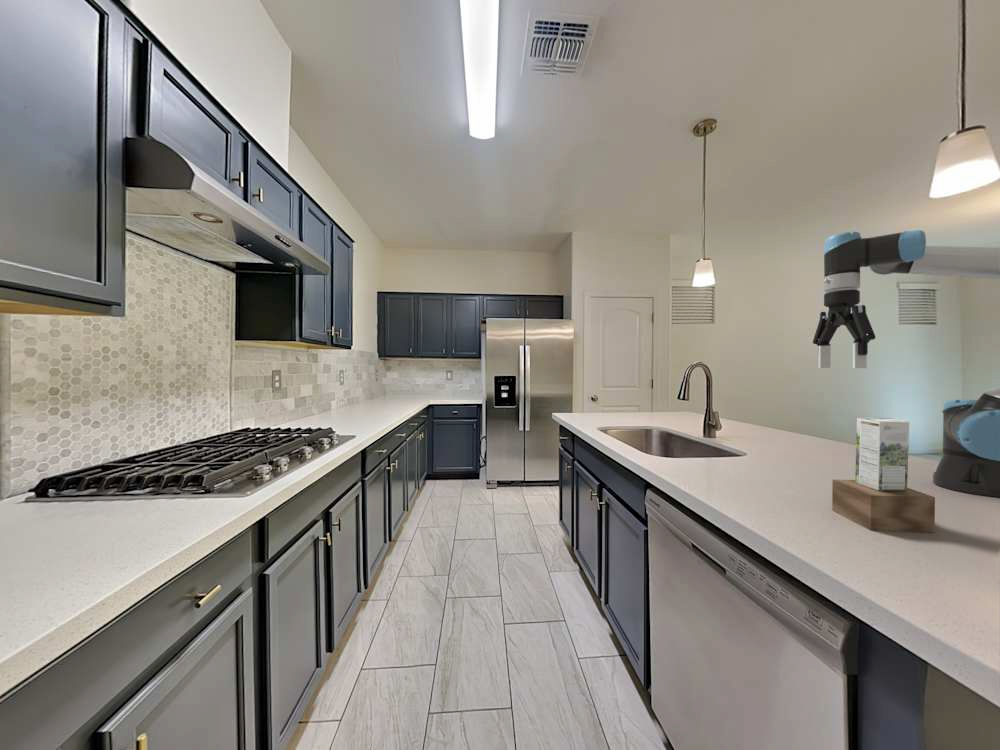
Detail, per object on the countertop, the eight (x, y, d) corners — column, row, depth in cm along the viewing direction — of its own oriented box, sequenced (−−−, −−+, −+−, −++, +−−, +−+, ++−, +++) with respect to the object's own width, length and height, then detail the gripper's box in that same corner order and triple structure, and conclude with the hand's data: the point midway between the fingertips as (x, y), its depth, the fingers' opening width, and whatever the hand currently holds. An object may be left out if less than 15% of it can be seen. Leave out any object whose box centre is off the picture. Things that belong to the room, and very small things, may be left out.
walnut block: (887, 512, 88) (887, 480, 87) (934, 533, 77) (934, 497, 76) (832, 510, 89) (832, 479, 89) (870, 530, 78) (871, 495, 78)
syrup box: (881, 483, 86) (882, 416, 85) (909, 492, 80) (909, 420, 79) (854, 483, 86) (855, 416, 86) (879, 492, 80) (880, 420, 80)
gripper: (799, 299, 122) (798, 367, 123) (860, 282, 98) (860, 368, 98) (826, 298, 121) (825, 367, 122) (895, 281, 96) (894, 368, 97)
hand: (840, 368), depth 110 cm, fingers open, 13 cm apart
